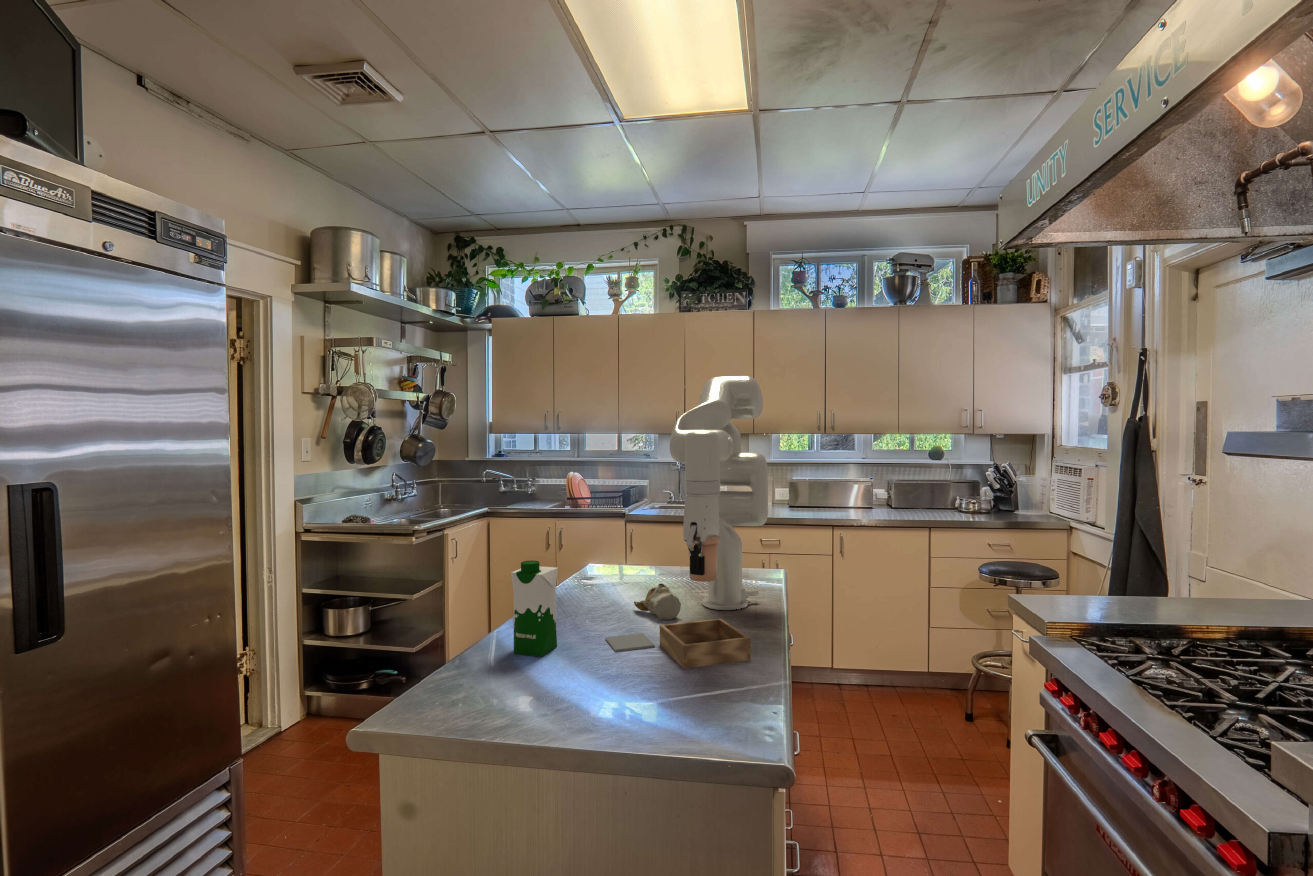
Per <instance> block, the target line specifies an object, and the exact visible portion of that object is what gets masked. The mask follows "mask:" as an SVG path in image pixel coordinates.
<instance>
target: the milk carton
mask: <svg viewBox="0 0 1313 876" xmlns="http://www.w3.org/2000/svg"><path fill="white" fill-rule="evenodd" d="M558 571H559V567H555V566H554V567H553V566H541V565H540V561H539V560H524V561H521V562H520V568H518V569H517V570H516V569H515V570H514V571H511V572H510V576H511V583H512V589H513V591H512V593H513V654H514V655H515V654H516V655H521V656H522V655H523V656H531V657H539V658H540V657H541V658H542V657H543V656H545V655H547V654H549V653H550V652H551V651H553V650H554V649H556V648H557V647H558V640H557V639H558V638H557V578H558Z"/></svg>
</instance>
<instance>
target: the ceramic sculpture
mask: <svg viewBox="0 0 1313 876" xmlns="http://www.w3.org/2000/svg"><path fill="white" fill-rule="evenodd" d="M633 604H634V606H635V607H636V608H637V609H638V610H640V611H643V612H650V613H652V614H653V615H656V617H657V618H658V619H660V620H662V621H663V620H664V621H671V620H674V619H675V618H677V617H678V615H679V613H680V611H681V607H682V603H681V601H680V599H679V598H678V597H677V595H675V594H673V593H672V591H670V589H669V587H668V586H667V585H665V584H664V583H659V584H658V585H657V586H655V587H652V588H650V589H649V590H648V592H647V594H646V597H645V599H644V600H640V601H633Z"/></svg>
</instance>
